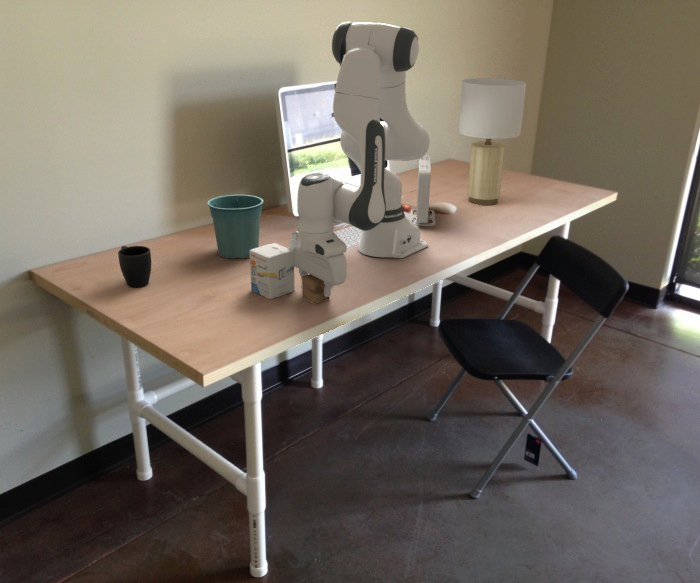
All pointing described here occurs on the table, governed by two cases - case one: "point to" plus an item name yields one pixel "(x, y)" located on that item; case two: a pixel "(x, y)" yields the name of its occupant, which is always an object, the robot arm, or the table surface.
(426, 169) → the network device
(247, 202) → the flower pot
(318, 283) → the walnut block
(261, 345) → the table surface
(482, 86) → the lamp
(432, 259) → the table surface
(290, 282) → the ink box
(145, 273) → the mug
